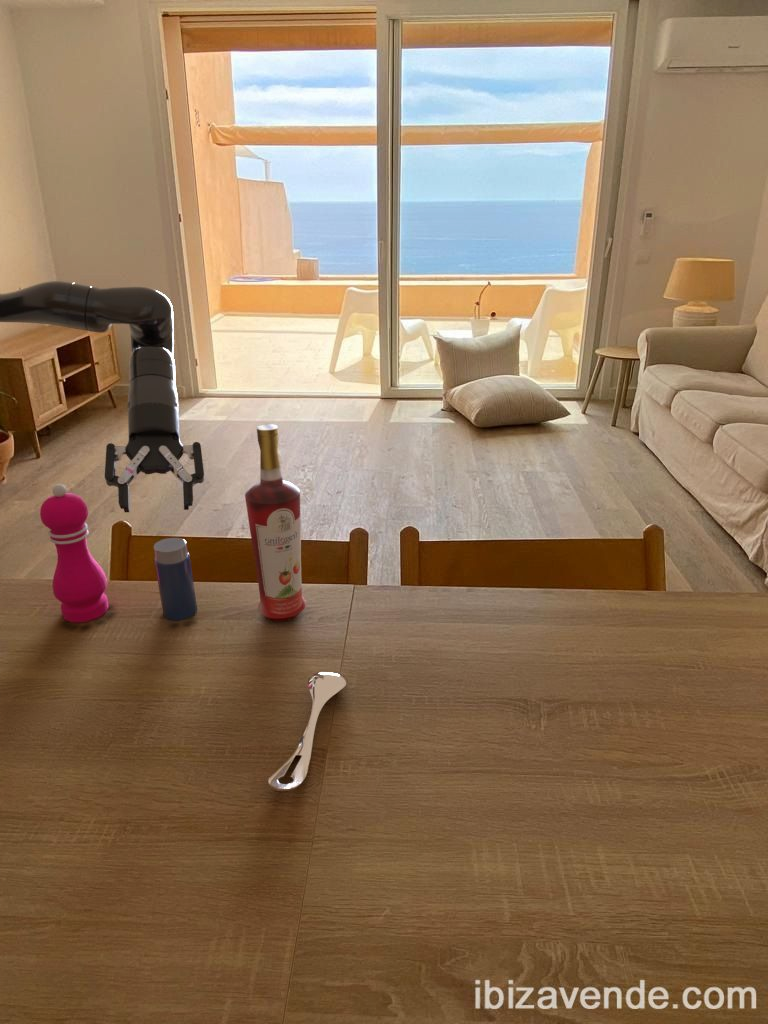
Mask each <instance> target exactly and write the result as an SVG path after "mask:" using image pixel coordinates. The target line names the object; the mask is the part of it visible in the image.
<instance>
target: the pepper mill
mask: <svg viewBox="0 0 768 1024" xmlns="http://www.w3.org/2000/svg"><path fill="white" fill-rule="evenodd" d="M51 492H52V494H53V495H51V496H49V497H47V498H46V499H45V500H44V501H43V503H42V504H41V506H40V510H39V515H40V516H39V517H40V520H41V523H42V524H43V525H44V527H46V528H47V529H48V531H47V533H48V535H49V541H50V542H51V543H52V544H54V545H55V549H56V554H57V562H56V567H55V570H54V574H53V578H52V593H53V595H54V598H56V600H58V601H59V602H61V603H60V609H61V614H62V617H63V619H64V620H65V621H67V622H69V623H85V622H91V621H94V620H97V619H98V618H100V617H102V616H103V615H105V613H107V612H108V609H109V602H108V601H109V600H108V596H107V595H106V593H105V592H106V590H107V587H108V579H107V576H106V574H105V571H104V570H103V568H102V567H101V566H100V564H99V563H98V562H97V561H96V560H95V558H94V557H93V556H92V554H91V552H90V550H89V547H88V541H87V537H89V533H90V531H89V530H88V524H87V523H86V521H87V519H88V516H89V509H88V505H87V503H86V501H85V500H84V498H82V497H81V496H80V495H77V494H76V493H71V492H68V489H67V487H66V486H65V485H64V484H61V483H58V484H57V483H56V484H55V485H54V486H53V487H52V489H51Z"/></svg>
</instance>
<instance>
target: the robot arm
mask: <svg viewBox="0 0 768 1024" xmlns="http://www.w3.org/2000/svg"><path fill="white" fill-rule="evenodd" d="M173 310H174V309H173V305H172V303H171V301H170V299H169V298H168V297H167V296H166V295H165V294H163V293H162V292H160V291H158V290H156V289H154V288H150V287H146V286H145V287H144V286H118V287H117V286H116V287H105V288H101V287H97V286H92V285H87V284H81V283H76V282H72V281H71V282H70V281H64V280H49V281H44V282H39V283H36V284H33V285H30V286H28V287H27V286H26V287H25V288H24V287H23V288H22V289H18V290H15V291H11V292H6V293H0V323H23V324H24V323H25V324H26V323H27V324H28V323H29V324H41V325H49V326H56V327H57V326H58V327H63V328H68V329H75V330H79V331H85V332H91V333H100V334H101V333H102V334H103V333H106V332H108V331H110V330H111V327H112V325H128V329H129V339H130V356H129V360H128V361H129V362H128V382H129V383H128V386H129V387H128V393H127V404H126V407H127V420H128V421H127V422H128V423H127V425H128V426H127V427H128V441H127V444H126V445H125V446H123V445H115V444H114V443H107V444H106V448H105V464H104V479H105V483H106V485H107V486H109V487H116V488H117V491H118V506H119V507H120V509H121V510H123V512H124V513H131V512H130V511H131V509H130V507H131V506H130V487H129V486H130V485H131V484H132V482H134V480H136V479H137V478H138V476H139V475H140V474H141V473H143V474H145V475H153V474H160V475H166V474H167V473H169V472H170V473H171V474H172V475H173V476H174V477H175V478H176V479H178V480H179V481H180V482H181V484H182V493H183V495H182V496H183V510H184V511H188V510H190V507H193V505H194V490H193V489H194V486H195V485H196V484H202V483H204V481H205V470H204V461H203V454H202V445H201V443H200V442H199V441H195V442H193V443H192V444H187V445H185V444H184V445H183V444H182V443H181V440H180V439H181V436H180V413H179V412H180V410H179V408H180V404H179V395H178V391H177V381H176V380H177V379H176V364H175V359H174V348H175V347H174V344H175V343H174V342H175V340H174V336H175V335H174V334H175V333H174V332H175V331H174V329H175V328H174V311H173ZM184 454H185V455H187V457H188V459H189V460H193V466H194V473H192V474H190V473H189V472H188V471H187V470H186V469H185V467H184V465H183V464H182V463H181V462H180V459H181V458H182V457H183V456H184ZM124 455H125V456H127V458H128V459H129V460H130V462H129V463H128V464H127V465H126V467H125V469H124V470H123V471H122V473H120V475H116V472H117V462H119V461H121V460H122V457H123V456H124Z"/></svg>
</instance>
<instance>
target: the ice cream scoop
mask: <svg viewBox="0 0 768 1024" xmlns="http://www.w3.org/2000/svg"><path fill="white" fill-rule="evenodd" d="M348 682H349V679H348V678H347V677H345V676H344V675H342V674H341V673H337V672H332V671H318V672H315V673H313V674H312V675H311V676H310V677H309V678H308V680H307V687H308V690H309V692H310V693H309V694H310V695H311V700H312V705H311V706H312V707H311V713H310V716H309V720H308V722H307V725H306V728H305V730H304V733H303V734H302V736H301V738H300V740H299V742H298V743H297V745H296V747H295V748H294V750H293V751H292V752H291V753H290V754H289V756H288V757H287V758H286V759H284V761H283V762H282V763H281V764H280V765H279V766H278V767H277V768H276V769H275V770H274V771H273V772H271V774H270V776H269V777H268V785H269V786H268V787H270V789H273V790H274V791H277V792H287V791H294V790H295V789H298V788H299V787H300V786H301V785H302V784H303V782H304V781H305V779H306V777H307V774H308V772H309V768H310V763H311V757H312V751H313V743H314V736H315V731H316V725H317V722H318V718H319V715H320V713H321V711H322V709H323V707H324V706H325V704H326V703H327V702H328V701H329V700H330V699H331V698H332V697H333V696H334V695H336V694H337V693H339V692H340V691H341V690H343V689H344V688H345V687H346V686H347V684H348ZM296 757H300V758H299V760H298V762H297V764H296V765H295V767H294V769H293V771H292V773H291V775H290V779H292V781H291V782H289V783H281V782H279V780H280V779H282V778H285V777H286V774H287V773H288V771H289V769H290V767H291V766H292V764H293V763H294V760H295V759H296Z"/></svg>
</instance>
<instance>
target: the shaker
mask: <svg viewBox="0 0 768 1024" xmlns="http://www.w3.org/2000/svg"><path fill="white" fill-rule="evenodd" d="M153 553H154V559H153V562H154V567H155V574H156V579H157V586H158V591H159V598H160V603H161V609H162V615H163V617H164V619H166V620H168V621H175V622H176V621H177V622H178V621H179V622H180V621H185V620H188V619H190V618H192V617H193V616H194V615H196V613H197V612H198V605H197V597H196V591H195V584H194V576H193V569H192V564H191V563H192V562H191V556H190V555H191V554H190V553H189V551H188V546H187V541H186V540H185V539H184V538H181V537H167V538H163V539H161V540H159V541H157V542H155V544H153Z"/></svg>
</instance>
